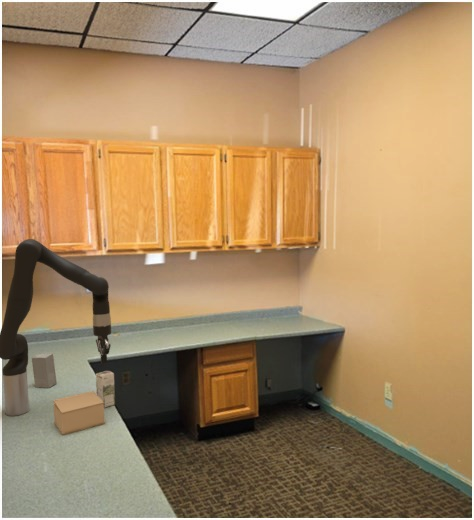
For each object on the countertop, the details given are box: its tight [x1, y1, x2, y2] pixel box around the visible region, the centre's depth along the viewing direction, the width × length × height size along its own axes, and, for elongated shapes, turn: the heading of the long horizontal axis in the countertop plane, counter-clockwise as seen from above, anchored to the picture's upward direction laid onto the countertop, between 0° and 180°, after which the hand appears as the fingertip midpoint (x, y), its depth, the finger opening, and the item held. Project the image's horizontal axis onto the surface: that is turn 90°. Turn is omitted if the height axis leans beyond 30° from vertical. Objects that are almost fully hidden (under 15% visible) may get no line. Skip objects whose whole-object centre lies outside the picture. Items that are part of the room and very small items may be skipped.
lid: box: [52, 390, 104, 414], centre depth 183 cm, size 13×16×1 cm
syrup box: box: [95, 370, 116, 409], centre depth 201 cm, size 6×6×14 cm
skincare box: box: [31, 353, 57, 389], centre depth 228 cm, size 8×7×16 cm
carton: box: [53, 403, 106, 435], centre depth 183 cm, size 13×16×8 cm
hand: (104, 362), depth 200 cm, fingers closed
